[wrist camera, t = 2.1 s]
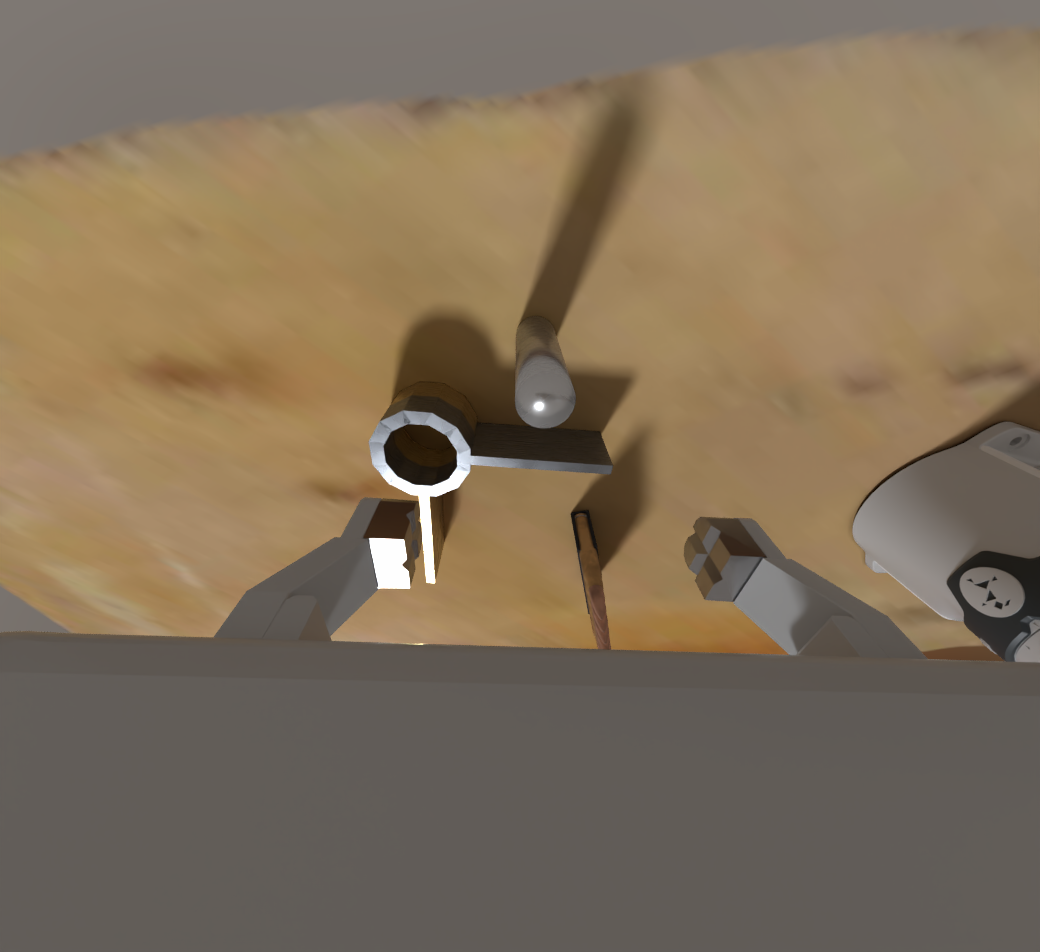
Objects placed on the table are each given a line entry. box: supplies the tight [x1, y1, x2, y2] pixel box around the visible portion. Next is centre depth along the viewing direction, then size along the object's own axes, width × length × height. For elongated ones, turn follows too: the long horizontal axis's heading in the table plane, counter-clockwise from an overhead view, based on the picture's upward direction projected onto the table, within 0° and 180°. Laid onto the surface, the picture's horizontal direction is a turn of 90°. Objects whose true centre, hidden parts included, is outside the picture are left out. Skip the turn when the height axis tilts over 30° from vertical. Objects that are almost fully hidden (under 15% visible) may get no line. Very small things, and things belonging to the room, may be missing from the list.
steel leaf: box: [369, 395, 613, 496], centre depth 30 cm, size 18×7×6 cm, turn 85°
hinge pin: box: [515, 316, 576, 428], centre depth 23 cm, size 3×3×12 cm
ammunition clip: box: [571, 510, 611, 650], centre depth 36 cm, size 11×2×12 cm, turn 12°
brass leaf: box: [391, 382, 477, 583], centre depth 33 cm, size 7×18×6 cm, turn 175°
